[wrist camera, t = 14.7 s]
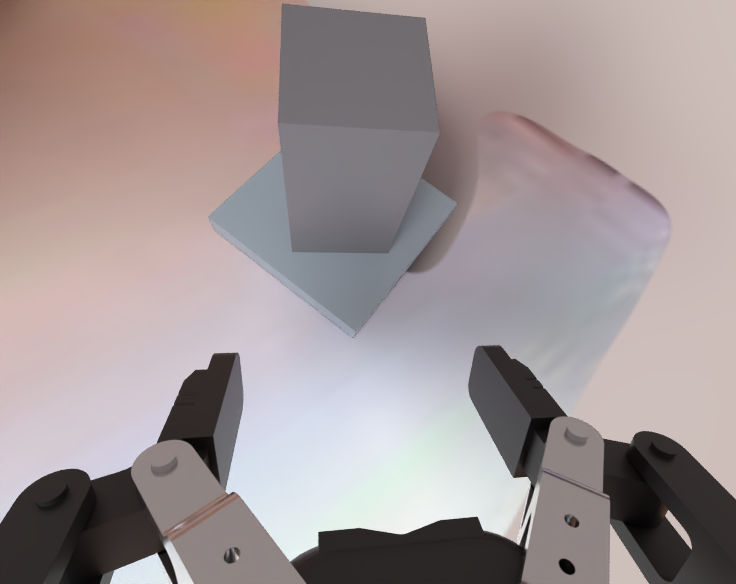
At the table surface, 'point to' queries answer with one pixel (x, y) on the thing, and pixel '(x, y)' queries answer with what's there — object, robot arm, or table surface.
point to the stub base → (326, 270)
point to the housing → (353, 125)
